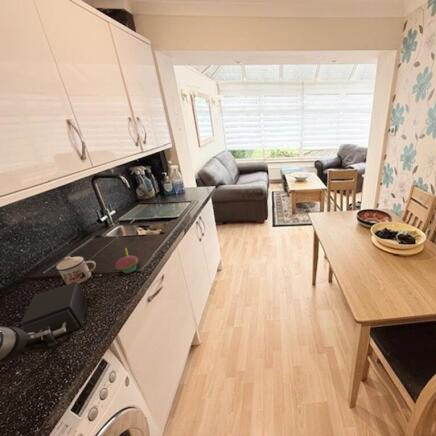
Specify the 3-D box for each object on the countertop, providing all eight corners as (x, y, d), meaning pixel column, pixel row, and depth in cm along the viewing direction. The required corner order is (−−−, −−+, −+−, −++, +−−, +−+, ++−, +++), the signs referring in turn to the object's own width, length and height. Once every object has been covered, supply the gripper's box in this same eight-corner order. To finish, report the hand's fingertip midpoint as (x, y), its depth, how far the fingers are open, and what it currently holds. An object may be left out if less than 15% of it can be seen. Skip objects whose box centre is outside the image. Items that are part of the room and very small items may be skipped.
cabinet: (83, 326, 80) (69, 305, 76) (36, 345, 74) (19, 323, 70) (88, 300, 91) (76, 281, 87) (48, 315, 86) (34, 295, 82)
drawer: (77, 336, 75) (65, 319, 72) (33, 355, 70) (18, 337, 67) (84, 303, 89) (74, 287, 85) (47, 316, 84) (36, 300, 81)
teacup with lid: (63, 289, 98) (49, 266, 93) (68, 278, 105) (55, 256, 100) (99, 278, 104) (87, 256, 99) (101, 268, 111) (90, 246, 106)
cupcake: (140, 262, 112) (131, 241, 107) (141, 271, 106) (132, 249, 101) (119, 269, 108) (108, 247, 103) (119, 279, 102) (107, 256, 97)
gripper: (-52, 382, 47) (23, 368, 67) (36, 346, 53) (81, 343, 73) (-54, 344, 49) (19, 341, 69) (31, 314, 55) (76, 319, 75)
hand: (51, 342), depth 71 cm, fingers closed
